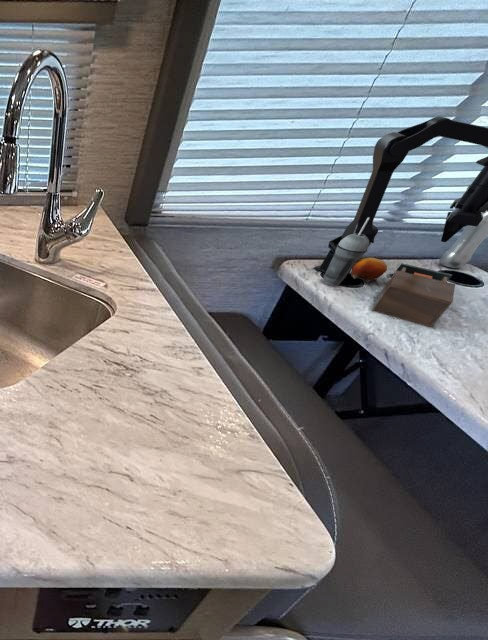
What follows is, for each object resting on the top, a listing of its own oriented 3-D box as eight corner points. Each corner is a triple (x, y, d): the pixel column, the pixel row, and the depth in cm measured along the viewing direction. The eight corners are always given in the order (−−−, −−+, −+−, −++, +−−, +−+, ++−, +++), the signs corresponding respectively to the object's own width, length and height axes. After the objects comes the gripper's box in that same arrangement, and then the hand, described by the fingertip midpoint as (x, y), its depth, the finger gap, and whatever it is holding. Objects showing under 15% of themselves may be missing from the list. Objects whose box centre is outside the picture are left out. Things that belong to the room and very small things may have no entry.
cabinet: (379, 293, 117) (396, 270, 112) (435, 308, 110) (455, 284, 106) (372, 310, 110) (389, 286, 105) (430, 327, 103) (452, 302, 98)
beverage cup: (318, 285, 122) (356, 220, 109) (315, 275, 127) (352, 213, 114) (346, 290, 119) (388, 224, 106) (342, 280, 124) (382, 216, 111)
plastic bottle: (464, 272, 127) (517, 209, 114) (437, 267, 130) (486, 205, 117) (459, 264, 132) (510, 203, 119) (433, 260, 134) (480, 200, 121)
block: (421, 293, 113) (431, 280, 110) (403, 289, 115) (413, 276, 113) (422, 288, 115) (432, 276, 113) (405, 284, 117) (414, 272, 115)
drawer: (390, 276, 124) (403, 259, 120) (438, 287, 118) (453, 269, 114) (383, 294, 115) (396, 276, 111) (433, 307, 109) (449, 289, 105)
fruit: (346, 277, 123) (361, 252, 121) (342, 281, 129) (357, 258, 127) (378, 284, 118) (395, 259, 116) (373, 289, 125) (388, 264, 123)
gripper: (532, 197, 95) (480, 258, 105) (528, 183, 105) (481, 239, 115) (469, 189, 101) (426, 247, 111) (471, 176, 111) (432, 230, 121)
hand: (443, 241), depth 115 cm, fingers closed
